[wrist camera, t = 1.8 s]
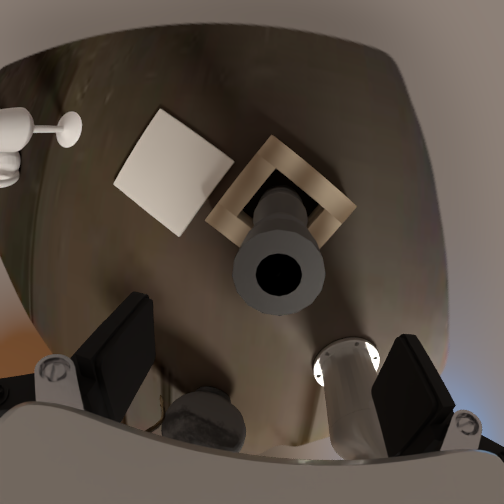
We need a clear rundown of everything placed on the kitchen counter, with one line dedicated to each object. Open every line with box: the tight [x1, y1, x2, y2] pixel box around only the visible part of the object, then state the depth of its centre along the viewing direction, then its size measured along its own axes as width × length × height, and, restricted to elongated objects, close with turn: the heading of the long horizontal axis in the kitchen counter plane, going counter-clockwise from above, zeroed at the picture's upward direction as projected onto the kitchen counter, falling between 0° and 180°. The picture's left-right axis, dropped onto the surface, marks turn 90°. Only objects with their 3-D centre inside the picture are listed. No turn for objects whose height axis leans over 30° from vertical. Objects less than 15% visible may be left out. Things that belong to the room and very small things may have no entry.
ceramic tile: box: [114, 109, 235, 237], centre depth 40 cm, size 14×14×1 cm
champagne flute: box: [0, 107, 82, 152], centre depth 28 cm, size 7×7×24 cm
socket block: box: [205, 135, 357, 249], centre depth 39 cm, size 14×14×5 cm
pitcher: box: [145, 386, 246, 453], centre depth 41 cm, size 11×19×30 cm, turn 56°
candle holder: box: [232, 185, 326, 316], centre depth 29 cm, size 6×6×25 cm
